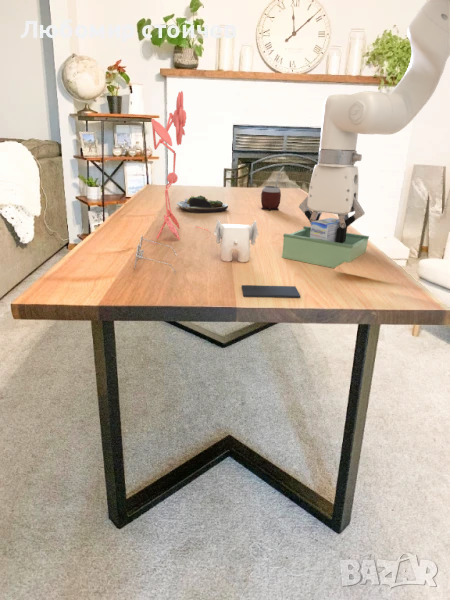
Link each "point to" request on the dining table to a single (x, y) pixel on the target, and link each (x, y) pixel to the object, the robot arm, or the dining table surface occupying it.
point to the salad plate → (202, 205)
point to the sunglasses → (143, 252)
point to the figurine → (179, 123)
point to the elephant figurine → (235, 240)
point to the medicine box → (325, 229)
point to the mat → (270, 291)
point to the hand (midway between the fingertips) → (327, 241)
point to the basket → (322, 248)
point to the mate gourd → (271, 196)
